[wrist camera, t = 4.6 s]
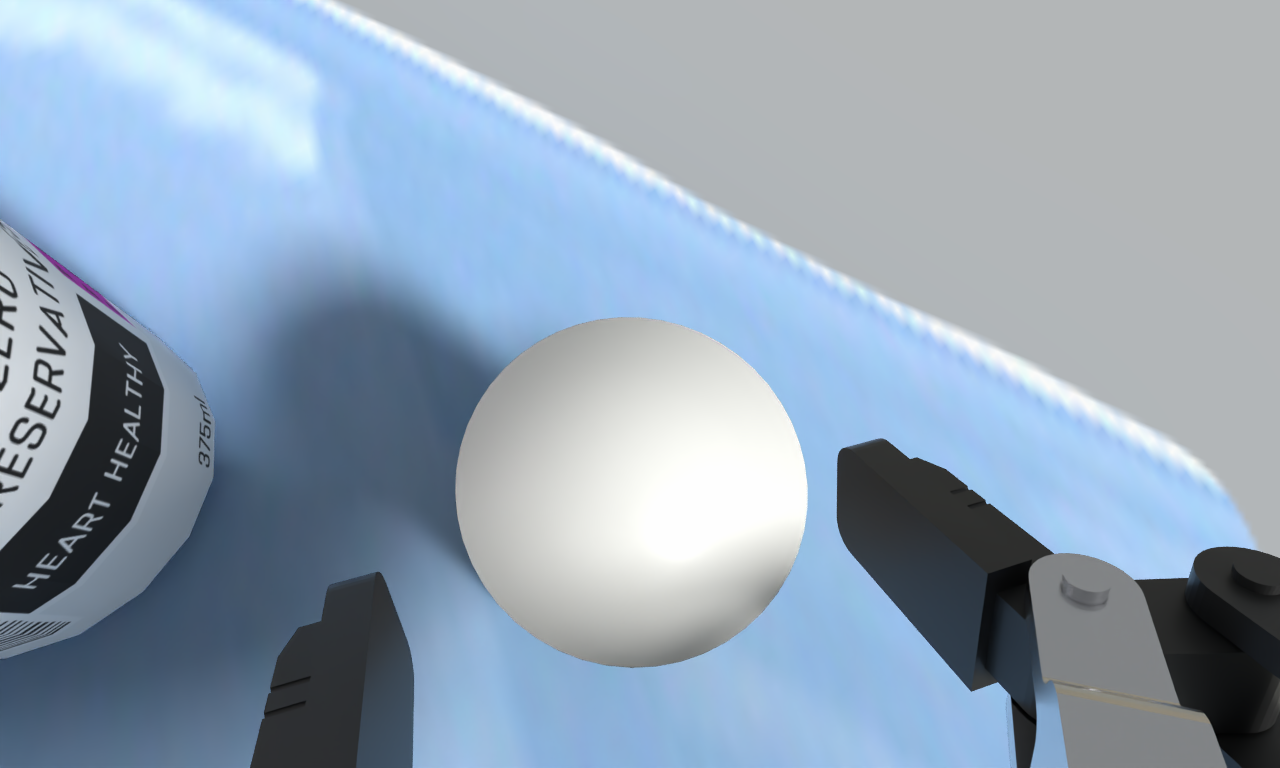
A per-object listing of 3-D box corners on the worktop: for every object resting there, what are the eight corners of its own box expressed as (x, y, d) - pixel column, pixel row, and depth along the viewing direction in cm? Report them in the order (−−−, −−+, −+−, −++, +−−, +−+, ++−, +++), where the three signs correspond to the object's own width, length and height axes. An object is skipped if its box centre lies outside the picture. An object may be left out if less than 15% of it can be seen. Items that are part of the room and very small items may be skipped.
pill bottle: (470, 602, 17) (385, 567, 9) (556, 432, 19) (554, 267, 10) (646, 686, 17) (735, 734, 8) (718, 507, 19) (850, 400, 10)
